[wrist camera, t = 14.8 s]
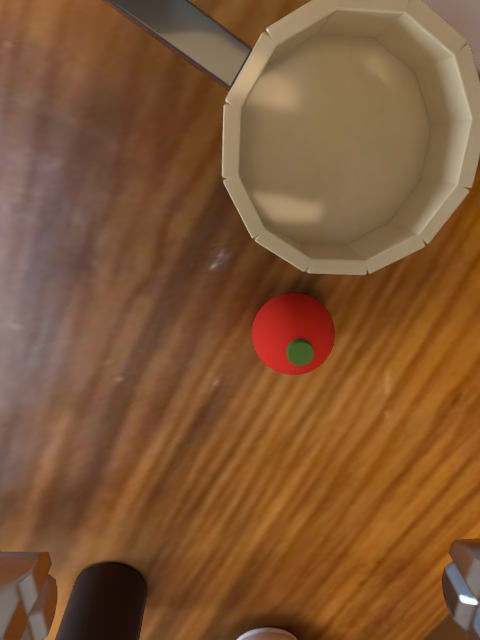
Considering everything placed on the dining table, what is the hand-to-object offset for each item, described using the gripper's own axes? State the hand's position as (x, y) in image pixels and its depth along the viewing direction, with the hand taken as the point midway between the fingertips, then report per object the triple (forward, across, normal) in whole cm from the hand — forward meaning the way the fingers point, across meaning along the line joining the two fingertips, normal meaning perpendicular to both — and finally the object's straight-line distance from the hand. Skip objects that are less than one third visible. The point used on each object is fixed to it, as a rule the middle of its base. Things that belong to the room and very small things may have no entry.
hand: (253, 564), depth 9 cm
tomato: (+22, -4, +4) cm, 22 cm away
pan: (+22, -1, -10) cm, 24 cm away
